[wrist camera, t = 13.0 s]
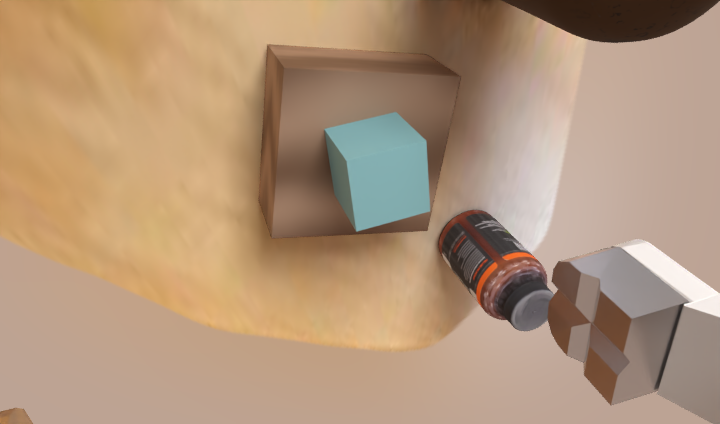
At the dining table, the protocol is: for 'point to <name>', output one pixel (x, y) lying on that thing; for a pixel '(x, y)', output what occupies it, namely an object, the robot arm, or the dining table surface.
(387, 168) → the teal cube
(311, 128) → the walnut block
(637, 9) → the olive oil
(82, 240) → the dining table surface
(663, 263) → the robot arm
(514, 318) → the supplement bottle
